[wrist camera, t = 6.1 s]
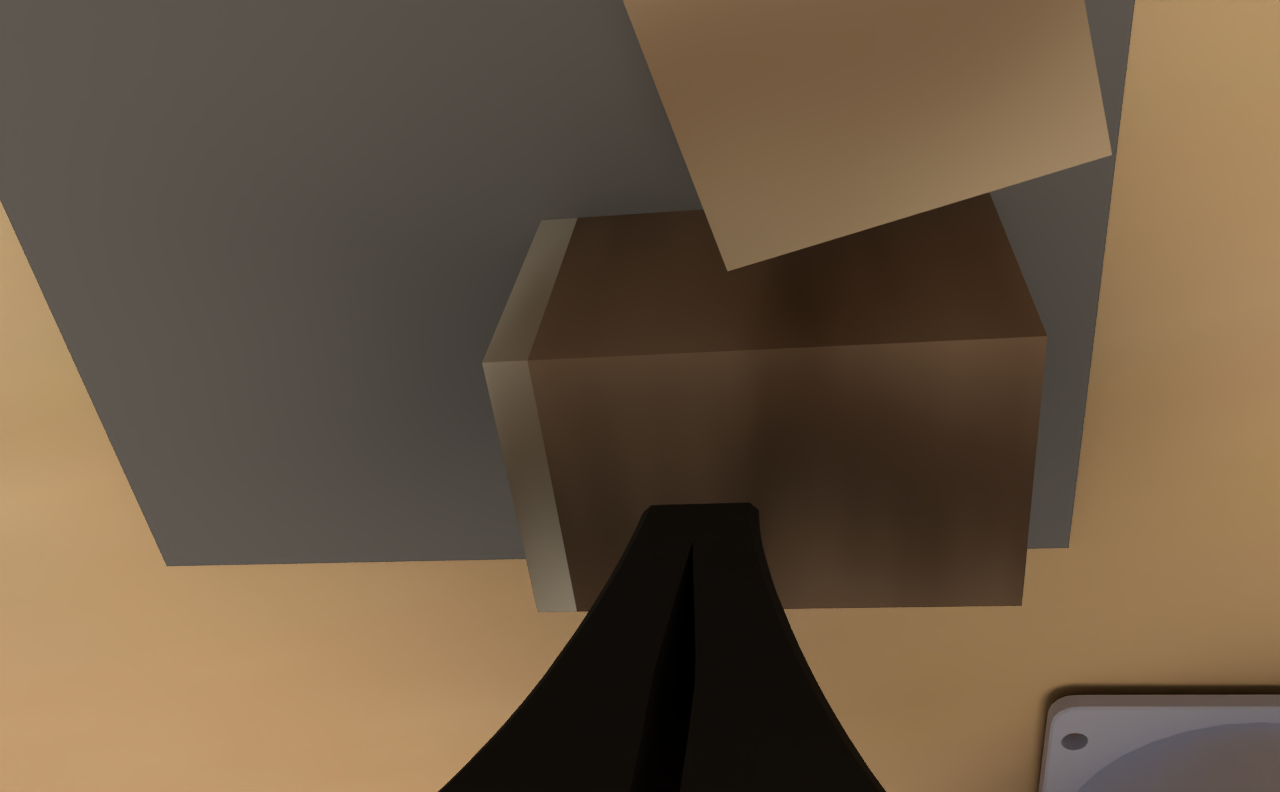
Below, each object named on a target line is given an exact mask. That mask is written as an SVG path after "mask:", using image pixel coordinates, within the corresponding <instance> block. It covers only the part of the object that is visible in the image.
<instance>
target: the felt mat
mask: <svg viewBox="0 0 1280 792" xmlns="http://www.w3.org/2000/svg"><path fill="white" fill-rule="evenodd" d="M1084 2H1085V7H1086V13H1087V18H1088V24H1089V29H1090V35H1091V41H1092V46H1093V52H1094V57H1095V63H1096V68H1097V74H1098V79H1099V85H1100V90H1101V96H1102V102H1103V107H1104V113H1105V118H1106V124H1107V129H1108V135H1109V140H1110V146H1111V152H1112V155H1110V156H1107V157H1103V158H1100V159H1097V160H1094V161H1090V162H1087V163H1084V164H1080V165H1077V166H1074V167H1070V168H1067V169H1064V170H1061V171H1057V172H1054V173H1051V174H1047V175H1044V176H1041V177H1037V178H1034V179H1031V180H1028V181H1024V182H1021V183H1018V184H1014V185H1011V186H1008V187H1004V188H1001V189H998V190H995V191H991V192H989V193H990V195H991V198H992V200H993V203H994V205H995V208H996V210H997V213H998V215H999V218H1000V220H1001V223H1002V225H1003V228H1004V230H1005V232H1006V235H1007V237H1008V240H1009V242H1010V245H1011V247H1012V250H1013V252H1014V255H1015V257H1016V260H1017V262H1018V265H1019V267H1020V270H1021V272H1022V275H1023V277H1024V280H1025V282H1026V285H1027V287H1028V289H1029V292H1030V294H1031V297H1032V299H1033V302H1034V304H1035V307H1036V309H1037V312H1038V314H1039V317H1040V319H1041V322H1042V324H1043V327H1044V329H1045V332H1046V334H1047V345H1046V355H1045V366H1044V376H1043V387H1042V397H1041V408H1040V418H1039V429H1038V439H1037V450H1036V460H1035V471H1034V481H1033V492H1032V502H1031V513H1030V523H1029V534H1028V544H1027V549H1036V548H1069V540H1070V531H1071V523H1072V515H1073V507H1074V498H1075V490H1076V482H1077V474H1078V465H1079V457H1080V449H1081V441H1082V433H1083V424H1084V416H1085V408H1086V400H1087V391H1088V383H1089V375H1090V367H1091V358H1092V350H1093V342H1094V334H1095V325H1096V317H1097V309H1098V301H1099V292H1100V284H1101V276H1102V268H1103V259H1104V251H1105V243H1106V235H1107V226H1108V218H1109V210H1110V202H1111V193H1112V185H1113V177H1114V169H1115V160H1116V152H1117V144H1118V136H1119V127H1120V119H1121V111H1122V103H1123V94H1124V86H1125V78H1126V70H1127V61H1128V53H1129V45H1130V37H1131V28H1132V20H1133V12H1134V4H1135V0H1084ZM0 200H1V202H2V205H3V207H4V209H5V211H6V213H7V216H8V218H9V220H10V222H11V224H12V227H13V229H14V231H15V233H16V235H17V238H18V240H19V242H20V244H21V246H22V249H23V251H24V253H25V255H26V257H27V260H28V262H29V264H30V266H31V268H32V271H33V273H34V275H35V277H36V279H37V282H38V284H39V286H40V288H41V290H42V293H43V295H44V297H45V299H46V301H47V304H48V306H49V308H50V310H51V312H52V315H53V317H54V319H55V321H56V323H57V326H58V328H59V330H60V332H61V334H62V337H63V339H64V341H65V343H66V345H67V348H68V350H69V352H70V354H71V356H72V359H73V361H74V363H75V365H76V367H77V370H78V372H79V374H80V376H81V378H82V381H83V383H84V385H85V387H86V389H87V392H88V394H89V396H90V398H91V400H92V403H93V405H94V407H95V409H96V411H97V414H98V416H99V418H100V420H101V422H102V425H103V427H104V429H105V431H106V433H107V436H108V438H109V440H110V442H111V444H112V447H113V449H114V451H115V453H116V455H117V458H118V460H119V462H120V464H121V466H122V469H123V471H124V473H125V475H126V477H127V480H128V482H129V484H130V486H131V488H132V491H133V493H134V495H135V497H136V499H137V502H138V504H139V506H140V508H141V510H142V513H143V515H144V517H145V519H146V521H147V524H148V526H149V528H150V530H151V532H152V535H153V537H154V539H155V541H156V543H157V546H158V548H159V550H160V552H161V554H162V557H163V559H164V561H165V563H166V565H167V566H199V565H248V564H298V563H347V562H396V561H445V560H495V559H526V557H525V552H524V548H523V543H522V539H521V535H520V530H519V526H518V521H517V517H516V512H515V508H514V503H513V499H512V494H511V490H510V485H509V481H508V476H507V472H506V467H505V463H504V458H503V454H502V449H501V445H500V441H499V436H498V432H497V427H496V423H495V418H494V414H493V409H492V405H491V400H490V396H489V391H488V387H487V382H486V378H485V373H484V369H483V364H482V362H483V359H484V357H485V354H486V352H487V350H488V347H489V345H490V342H491V340H492V338H493V335H494V333H495V330H496V328H497V326H498V323H499V321H500V318H501V316H502V313H503V311H504V309H505V306H506V304H507V301H508V299H509V297H510V294H511V292H512V289H513V287H514V285H515V282H516V280H517V277H518V275H519V273H520V270H521V268H522V265H523V263H524V261H525V258H526V256H527V253H528V251H529V248H530V246H531V244H532V241H533V239H534V236H535V234H536V232H537V229H538V227H539V224H540V222H541V220H552V219H568V218H583V217H598V216H613V215H629V214H644V213H659V212H674V211H690V210H704V209H703V207H702V204H701V201H700V199H699V196H698V194H697V191H696V189H695V186H694V183H693V181H692V178H691V176H690V173H689V170H688V168H687V165H686V163H685V160H684V157H683V155H682V152H681V150H680V147H679V145H678V142H677V139H676V137H675V134H674V132H673V129H672V126H671V124H670V121H669V119H668V116H667V113H666V111H665V108H664V106H663V103H662V101H661V98H660V95H659V93H658V90H657V88H656V85H655V82H654V80H653V77H652V75H651V72H650V69H649V67H648V64H647V62H646V59H645V57H644V54H643V51H642V49H641V46H640V44H639V41H638V38H637V36H636V33H635V31H634V28H633V25H632V23H631V20H630V18H629V15H628V13H627V10H626V7H625V5H624V2H623V0H0Z"/></svg>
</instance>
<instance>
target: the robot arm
mask: <svg viewBox="0 0 1280 792" xmlns="http://www.w3.org/2000/svg"><path fill="white" fill-rule="evenodd" d="M1072 733H1077V734H1072ZM1068 734H1072V735H1068ZM438 792H886V791H885V790H884V788H883V787H882V785H881V784H880V783H879V781H878V780H877V779H876V777H875V776H874V775H873V773H872V772H871V771H870V769H869V768H868V766H867V765H866V763H865V762H864V760H863V758H862V757H861V755H860V754H859V752H858V751H857V749H856V748H855V746H854V745H853V743H852V742H851V740H850V738H849V737H848V735H847V734H846V732H845V730H844V729H843V727H842V725H841V724H840V722H839V720H838V719H837V717H836V715H835V714H834V712H833V710H832V709H831V707H830V705H829V703H828V701H827V700H826V698H825V696H824V694H823V692H822V691H821V689H820V687H819V685H818V683H817V681H816V679H815V677H814V675H813V673H812V671H811V669H810V667H809V665H808V663H807V661H806V659H805V657H804V655H803V653H802V651H801V649H800V647H799V645H798V642H797V640H796V638H795V636H794V634H793V631H792V629H791V627H790V624H789V622H788V619H787V617H786V614H785V612H784V609H783V607H782V604H781V602H780V599H779V597H778V594H777V592H776V589H775V586H774V583H773V580H772V577H771V574H770V570H769V567H768V564H767V560H766V557H765V553H764V549H763V545H762V540H761V533H760V519H759V510H758V509H757V508H756V507H755V506H753V505H752V504H751V503H749V502H746V503H709V504H672V505H651V506H649V507H648V508H647V509H646V510H645V511H644V512H643V514H642V516H641V518H640V520H639V523H638V525H637V527H636V529H635V531H634V533H633V535H632V537H631V539H630V541H629V543H628V545H627V547H626V549H625V551H624V553H623V555H622V556H621V558H620V560H619V562H618V564H617V565H616V567H615V569H614V571H613V572H612V574H611V576H610V578H609V579H608V581H607V583H606V584H605V586H604V588H603V589H602V591H601V593H600V594H599V596H598V597H597V599H596V601H595V602H594V604H593V605H592V607H591V609H590V610H589V612H588V613H587V615H586V617H585V618H584V620H583V621H582V623H581V624H580V626H579V627H578V629H577V630H576V632H575V633H574V635H573V636H572V637H571V639H570V640H569V642H568V643H567V644H566V646H565V647H564V649H563V650H562V651H561V653H560V654H559V656H558V657H557V658H556V660H555V661H554V663H553V664H552V665H551V667H550V668H549V670H548V671H547V672H546V674H545V675H544V676H543V678H542V679H541V680H540V681H539V683H538V684H537V685H536V686H535V688H534V689H533V690H532V692H531V693H530V694H529V695H528V696H527V698H526V699H525V700H524V701H523V703H522V704H521V705H520V706H519V707H518V709H517V710H516V711H515V712H514V713H513V714H512V715H511V717H510V718H509V719H508V720H507V721H506V722H505V724H504V725H503V726H502V727H501V728H500V729H499V730H498V731H497V733H496V734H495V735H494V736H493V737H492V738H491V739H490V740H489V741H488V742H487V743H486V744H485V745H484V746H483V747H482V748H481V749H480V750H479V752H478V753H477V754H476V755H475V756H474V757H473V758H472V759H471V760H470V761H469V762H468V763H467V764H466V765H465V766H464V767H463V768H462V769H461V770H460V771H459V772H458V773H457V774H456V775H455V776H454V777H453V778H452V779H451V780H450V781H449V782H448V783H447V784H446V785H445V786H444V787H443V788H442V789H440V790H439V791H438ZM1038 792H1280V695H1070V696H1065V697H1062V698H1060V699H1058V700H1056V701H1055V702H1054V703H1053V704H1052V705H1051V706H1050V708H1049V710H1048V715H1047V723H1046V732H1045V740H1044V748H1043V757H1042V765H1041V773H1040V781H1039V790H1038Z"/></svg>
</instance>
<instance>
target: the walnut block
mask: <svg viewBox="0 0 1280 792" xmlns="http://www.w3.org/2000/svg"><path fill="white" fill-rule="evenodd" d="M1046 345H1047V334H1046V332H1045V329H1044V327H1043V324H1042V322H1041V319H1040V317H1039V314H1038V312H1037V309H1036V307H1035V304H1034V302H1033V299H1032V297H1031V294H1030V292H1029V289H1028V287H1027V285H1026V282H1025V280H1024V277H1023V275H1022V272H1021V270H1020V267H1019V265H1018V262H1017V260H1016V257H1015V255H1014V252H1013V250H1012V247H1011V245H1010V242H1009V240H1008V237H1007V235H1006V232H1005V230H1004V228H1003V225H1002V223H1001V220H1000V218H999V215H998V213H997V210H996V208H995V205H994V203H993V200H992V198H991V195H990V193H989V192H988V193H985V194H981V195H978V196H975V197H972V198H968V199H965V200H962V201H958V202H955V203H952V204H948V205H945V206H942V207H939V208H935V209H932V210H929V211H925V212H922V213H919V214H915V215H912V216H909V217H906V218H902V219H899V220H896V221H892V222H889V223H886V224H882V225H879V226H876V227H873V228H869V229H866V230H863V231H859V232H856V233H853V234H849V235H846V236H843V237H840V238H836V239H833V240H830V241H826V242H823V243H820V244H816V245H813V246H810V247H807V248H803V249H800V250H797V251H793V252H790V253H787V254H784V255H780V256H777V257H774V258H770V259H767V260H764V261H760V262H757V263H754V264H751V265H747V266H744V267H741V268H737V269H734V270H731V271H727V269H726V266H725V264H724V261H723V258H722V256H721V253H720V251H719V248H718V245H717V243H716V240H715V238H714V235H713V233H712V230H711V227H710V225H709V222H708V220H707V217H706V214H705V212H704V210H690V211H674V212H659V213H644V214H629V215H613V216H598V217H583V218H568V219H552V220H541V222H540V224H539V227H538V229H537V232H536V234H535V236H534V239H533V241H532V244H531V246H530V248H529V251H528V253H527V256H526V258H525V261H524V263H523V265H522V268H521V270H520V273H519V275H518V277H517V280H516V282H515V285H514V287H513V289H512V292H511V294H510V297H509V299H508V301H507V304H506V306H505V309H504V311H503V313H502V316H501V318H500V321H499V323H498V326H497V328H496V330H495V333H494V335H493V338H492V340H491V342H490V345H489V347H488V350H487V352H486V354H485V357H484V359H483V362H482V364H483V369H484V373H485V378H486V382H487V387H488V391H489V396H490V400H491V405H492V409H493V414H494V418H495V423H496V427H497V432H498V436H499V441H500V445H501V449H502V454H503V458H504V463H505V467H506V472H507V476H508V481H509V485H510V490H511V494H512V499H513V503H514V508H515V512H516V517H517V521H518V526H519V530H520V535H521V539H522V543H523V548H524V552H525V557H526V561H527V566H528V570H529V575H530V579H531V584H532V588H533V593H534V597H535V602H536V606H537V611H538V612H574V611H589V610H590V609H591V607H592V605H593V604H594V602H595V601H596V599H597V597H598V596H599V594H600V593H601V591H602V589H603V588H604V586H605V584H606V583H607V581H608V579H609V578H610V576H611V574H612V572H613V571H614V569H615V567H616V565H617V564H618V562H619V560H620V558H621V556H622V555H623V553H624V551H625V549H626V547H627V545H628V543H629V541H630V539H631V537H632V535H633V533H634V531H635V529H636V527H637V525H638V523H639V520H640V518H641V516H642V514H643V512H644V511H645V510H646V509H647V508H648V507H649V506H651V505H672V504H709V503H746V502H749V503H751V504H752V505H753V506H755V507H756V508H757V509H758V510H759V519H760V533H761V540H762V545H763V549H764V553H765V557H766V560H767V564H768V567H769V570H770V574H771V577H772V580H773V583H774V586H775V589H776V592H777V594H778V597H779V599H780V602H781V604H782V607H783V609H804V608H881V607H958V606H1022V597H1023V586H1024V576H1025V565H1026V555H1027V544H1028V534H1029V523H1030V513H1031V502H1032V492H1033V481H1034V471H1035V460H1036V450H1037V439H1038V429H1039V418H1040V408H1041V397H1042V387H1043V376H1044V366H1045V355H1046Z"/></svg>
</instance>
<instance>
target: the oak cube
mask: <svg viewBox="0 0 1280 792" xmlns="http://www.w3.org/2000/svg"><path fill="white" fill-rule="evenodd" d="M623 2H624V5H625V7H626V10H627V13H628V15H629V18H630V20H631V23H632V25H633V28H634V31H635V33H636V36H637V38H638V41H639V44H640V46H641V49H642V51H643V54H644V57H645V59H646V62H647V64H648V67H649V69H650V72H651V75H652V77H653V80H654V82H655V85H656V88H657V90H658V93H659V95H660V98H661V101H662V103H663V106H664V108H665V111H666V113H667V116H668V119H669V121H670V124H671V126H672V129H673V132H674V134H675V137H676V139H677V142H678V145H679V147H680V150H681V152H682V155H683V157H684V160H685V163H686V165H687V168H688V170H689V173H690V176H691V178H692V181H693V183H694V186H695V189H696V191H697V194H698V196H699V199H700V201H701V204H702V207H703V209H704V212H705V214H706V217H707V220H708V222H709V225H710V227H711V230H712V233H713V235H714V238H715V240H716V243H717V245H718V248H719V251H720V253H721V256H722V258H723V261H724V264H725V266H726V269H727V271H731V270H734V269H737V268H741V267H744V266H747V265H751V264H754V263H757V262H760V261H764V260H767V259H770V258H774V257H777V256H780V255H784V254H787V253H790V252H793V251H797V250H800V249H803V248H807V247H810V246H813V245H816V244H820V243H823V242H826V241H830V240H833V239H836V238H840V237H843V236H846V235H849V234H853V233H856V232H859V231H863V230H866V229H869V228H873V227H876V226H879V225H882V224H886V223H889V222H892V221H896V220H899V219H902V218H906V217H909V216H912V215H915V214H919V213H922V212H925V211H929V210H932V209H935V208H939V207H942V206H945V205H948V204H952V203H955V202H958V201H962V200H965V199H968V198H972V197H975V196H978V195H981V194H985V193H988V192H991V191H995V190H998V189H1001V188H1004V187H1008V186H1011V185H1014V184H1018V183H1021V182H1024V181H1028V180H1031V179H1034V178H1037V177H1041V176H1044V175H1047V174H1051V173H1054V172H1057V171H1061V170H1064V169H1067V168H1070V167H1074V166H1077V165H1080V164H1084V163H1087V162H1090V161H1094V160H1097V159H1100V158H1103V157H1107V156H1110V155H1112V152H1111V146H1110V140H1109V135H1108V129H1107V124H1106V118H1105V113H1104V107H1103V102H1102V96H1101V90H1100V85H1099V79H1098V74H1097V68H1096V63H1095V57H1094V52H1093V46H1092V41H1091V35H1090V29H1089V24H1088V18H1087V13H1086V7H1085V2H1084V0H623Z"/></svg>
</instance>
